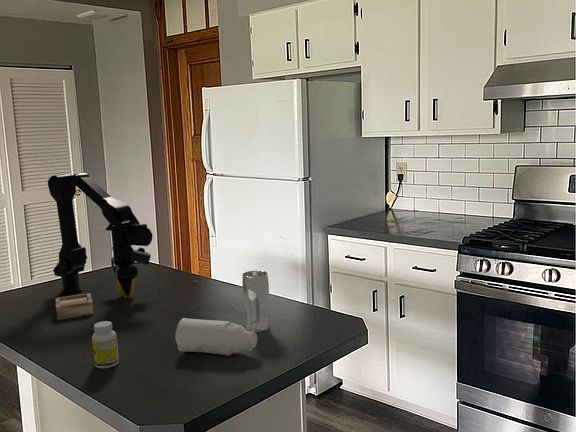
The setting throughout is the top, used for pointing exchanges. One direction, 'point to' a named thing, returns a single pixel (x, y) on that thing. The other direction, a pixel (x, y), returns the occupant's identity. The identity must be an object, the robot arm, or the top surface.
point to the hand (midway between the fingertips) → (126, 291)
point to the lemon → (121, 291)
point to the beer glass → (256, 299)
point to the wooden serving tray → (74, 306)
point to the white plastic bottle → (213, 337)
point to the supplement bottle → (105, 345)
